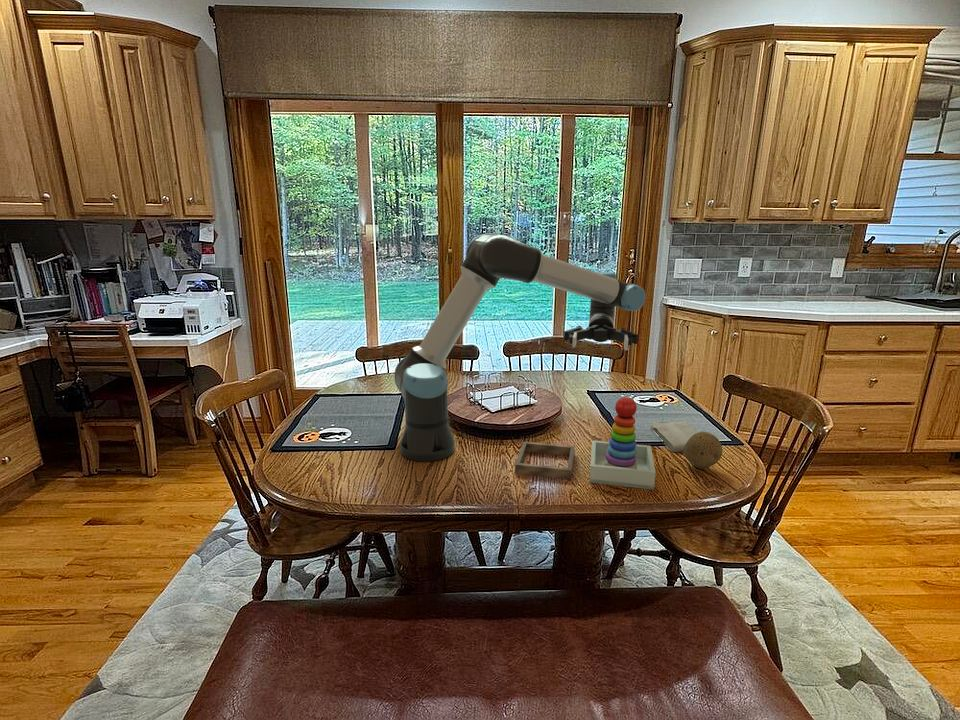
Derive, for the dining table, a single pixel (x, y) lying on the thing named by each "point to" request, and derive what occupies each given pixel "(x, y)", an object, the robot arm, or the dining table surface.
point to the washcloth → (674, 434)
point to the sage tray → (622, 468)
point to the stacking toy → (623, 436)
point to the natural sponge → (703, 450)
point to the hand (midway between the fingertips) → (599, 344)
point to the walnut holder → (540, 469)
